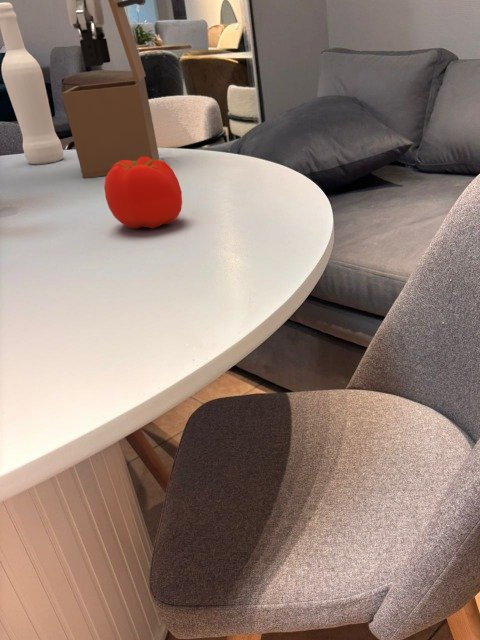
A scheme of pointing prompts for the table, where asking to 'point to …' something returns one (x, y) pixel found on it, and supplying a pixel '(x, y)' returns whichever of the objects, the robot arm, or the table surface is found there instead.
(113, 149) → the case
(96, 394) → the table surface
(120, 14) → the case lid
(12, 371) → the table surface
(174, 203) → the tomato
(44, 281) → the table surface
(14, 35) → the bottle
